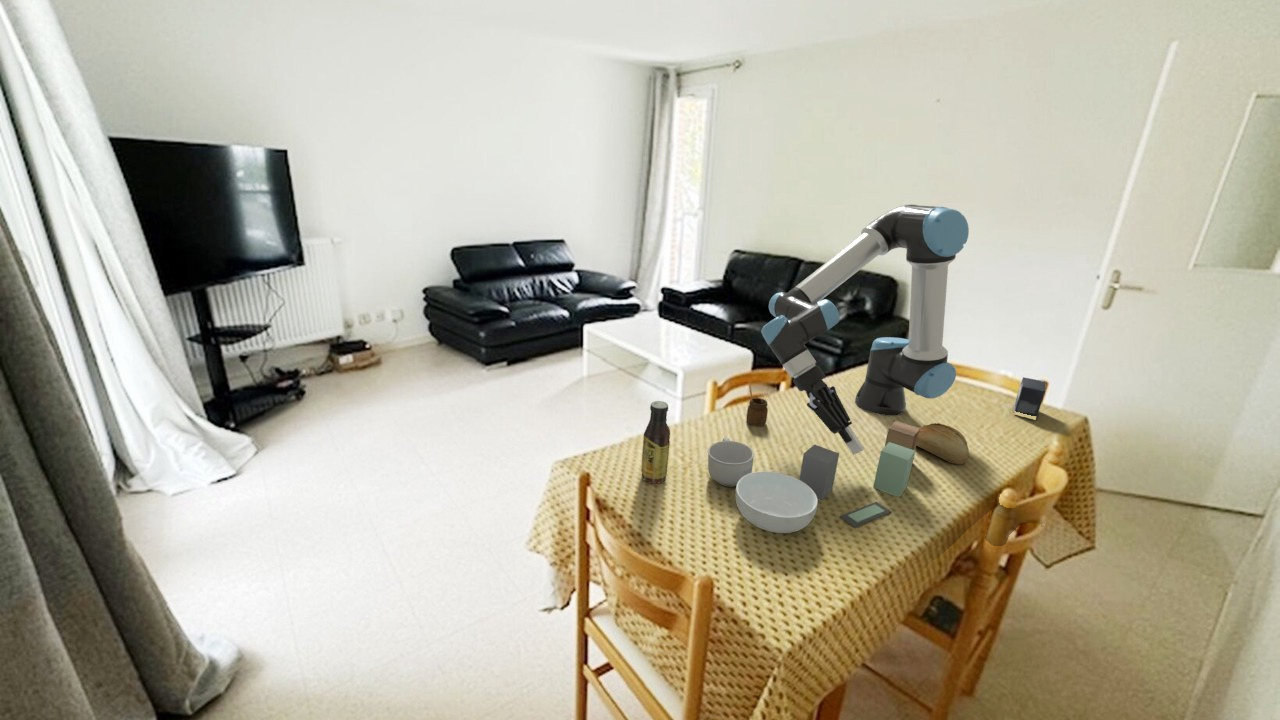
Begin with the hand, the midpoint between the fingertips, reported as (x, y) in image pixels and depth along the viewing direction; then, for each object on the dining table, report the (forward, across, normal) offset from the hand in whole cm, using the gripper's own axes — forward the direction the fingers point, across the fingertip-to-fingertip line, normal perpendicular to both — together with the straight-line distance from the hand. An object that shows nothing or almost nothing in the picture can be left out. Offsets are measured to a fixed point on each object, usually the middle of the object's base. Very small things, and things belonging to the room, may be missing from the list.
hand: (858, 451), depth 129 cm
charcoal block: (+1, +14, -8) cm, 16 cm away
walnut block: (+9, -14, 0) cm, 16 cm away
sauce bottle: (-20, +37, -29) cm, 51 cm away
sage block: (+11, 0, +2) cm, 11 cm away
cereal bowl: (0, +32, -9) cm, 33 cm away
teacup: (-12, +23, -21) cm, 33 cm away
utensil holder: (-18, -8, -27) cm, 34 cm away
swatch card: (+10, +16, +1) cm, 19 cm away
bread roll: (+14, -27, +4) cm, 31 cm away
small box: (+25, -78, +15) cm, 83 cm away
